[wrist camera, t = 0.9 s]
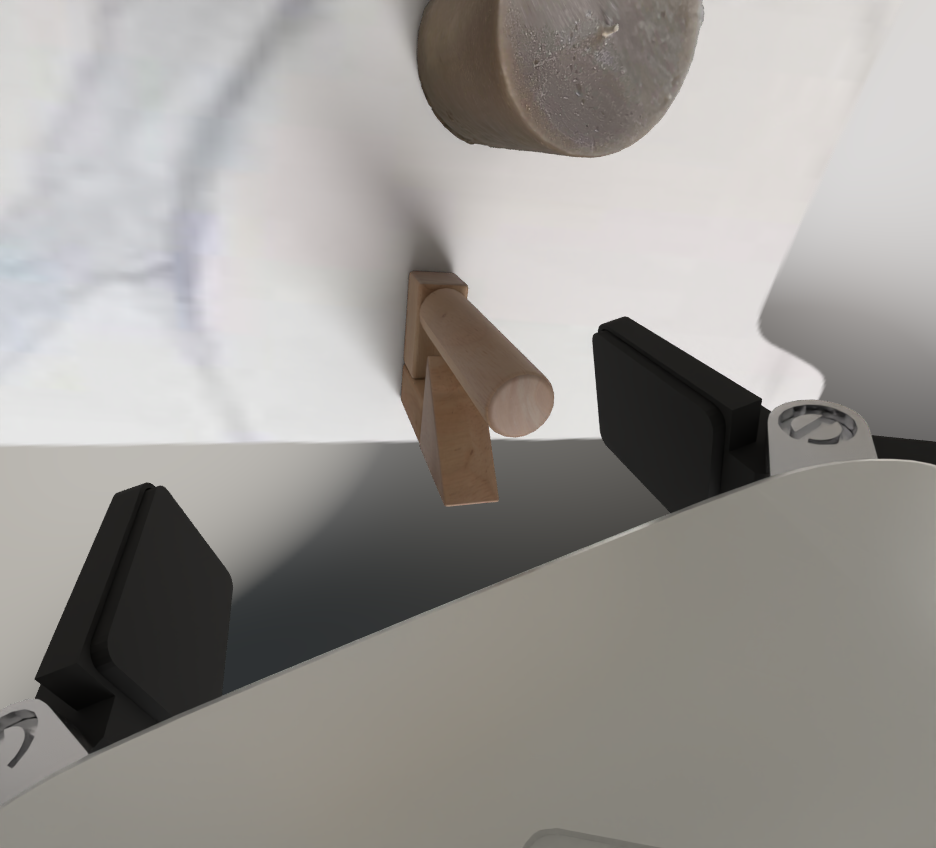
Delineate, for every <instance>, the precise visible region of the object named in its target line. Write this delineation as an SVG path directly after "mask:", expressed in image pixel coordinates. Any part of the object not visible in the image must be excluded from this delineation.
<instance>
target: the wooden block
mask: <svg viewBox="0 0 936 848" xmlns="http://www.w3.org/2000/svg"><path fill="white" fill-rule="evenodd" d="M467 295H468V285H467V284H466V283H465V282H463V281H462V280H461V279H460V278H459V277H458V276H457V275H456V274H454V273H445V272H425V271H412V272H410V274H409V283H408V298H407V314H406V329H405V344H404V362H405V364H404V366H403V374H402V389H401V401H402V403H403V406H404V408H405V411H406V413H407V415H408V418H409V420H410V422H411V425H412V427H413V429H414V432H415V434H416V436H417V439H418V441H419V443H420V445H419V446H420V449H421V451H422V453H423V456H424V458H425V460H426V463H427V465H428V468H429V470H430V472H431V474H432V477H433V479H434V482H435V484H436V486H437V489H438V491H439V494H440V496H441V498H442V500H443V503H444V505H445V506H458V505H467V504H478V503H488V502H497V501H498V500H499V497H498V490H497V483H496V476H495V470H494V462H493V454H492V447H491V440H490V433H489V427H490V428H491V429H492V430H493V431H494V432H496V433H498V434H501V435H503V436H506V437H520V436H525V435H528V434H530V433H532V432H534V431H535V430H537V429H538V428H539V427H540V426H541V425H543V424H544V422H545V421H546V420H547V418H548V417H549V416H550V413H551V411H552V408H553V404H554V392H553V389H552V385H551V383H550V382H549V380H548V379H547V378H546V377H545V376H544V375H543V374H542V373H541V372H540V371H539V370H538V369H537V368H536V367H535V366H534V365H533V364H532V363H531V362H530V361H529V360H528V359H527V358H526V357H525V356H524V355H523V354H522V353H521V352H520V351H519V350H518V349H517V348H516V347H515V346H514V345H513V344H512V343H511V342H510V341H509V340H508V339H507V338H506V337H505V336H504V335H503V334H502V333H501V332H500V331H499V330H498V329H497V328H496V327H495V326H494V325H493V324H492V323H491V322H490V321H489V320H488V319H487V318H486V317H485V316H484V315H483V314H482V313H481V312H480V311H479V310H478V309H477V308H476V307H475V306H474V305H472V304H471V303H470V302H469V301H468V300H467ZM488 425H489V426H488Z"/></svg>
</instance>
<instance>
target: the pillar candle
mask: <svg viewBox="0 0 936 848" xmlns="http://www.w3.org/2000/svg"><path fill="white" fill-rule="evenodd" d="M702 1H703V0H430V1H429V3H428V5H427V6H426V7H425V9H424V12H423V17H422V20H421V24H420V28H419V34H418V48H417V62H418V72H419V78H420V81H421V84H422V89H423V91H424V94H425V97H426V99H427V101H428V103H429V105H430V106H431V107H432V110H433V113H434V114H435V116H436V117H437V118H438V120H439V121H440V122H441V123H442V124H443V126H444V127H445V128H447V129H448V130H449V131H450V132H451V133H452V134H454V135H455V136H456V137H458V138H459V139H461V140H463V141H465V142H467V143H469V144H481V145H488V146H489V147H493V148H494V147H495V148H505V149H510V150H511V149H513V150H514V149H515V150H519V151H520V150H521V151H522V150H524V151H533V152H542V153H549V154H556V155H564V156H571V157H587V158H593V157H601V156H606V155H609V154H613V153H616V152H619V151H621V150H623V149H625V148H627V147H629V146H631V145H632V144H634V143H635V142H637V141H638V140H639V139H641V138H642V137H643V136H645V135H646V134H647V133H648V132H649V131H650V130H651V129H652V128H653V127H654V126H655V125H656V124H657V123H658V122H659V121H660V120H661V118H662V117H663V116H664V115H665V113H666V112H667V110H668V109H669V107H670V105H671V104H672V102H673V101H674V99H675V97H676V96H677V94H678V93H679V91H680V88H681V86H682V84H683V81H684V80H685V78H686V75H687V73H688V71H689V68H690V65H691V62H692V60H693V56H694V52H695V47H696V44H697V38H698V35H699V30H700V27H701V26H702V22H703V20H704V7H703V5H702Z"/></svg>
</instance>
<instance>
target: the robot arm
mask: <svg viewBox="0 0 936 848" xmlns="http://www.w3.org/2000/svg"><path fill="white" fill-rule="evenodd" d="M592 342H593V354H594V366H595V378H596V390H597V402H598V413H599V425H600V433H601V437H602V439H603V441H604V443H605V444H606V446H607V447H608V448H609V449H610V450H611V451H612V452H613V453H614V454H615V455H616V456H617V457H618V458H619V459H620V461H621V462H622V463H623V464H624V465H625V466H626V467H627V468H628V469H629V470H630V471H631V472H632V473H633V474H634V475H635V476H636V477H637V478H638V479H639V480H640V481H641V483H643V485H644V486H645V487H646V488H647V489H648V490H649V491H650V492H651V493H652V494H653V495H654V496H655V497H656V498H657V499H658V500H659V501H660V502H661V503H662V505H664V506H665V507H666V509H667V510H668V511H669V512H670V513H671V514H668V515H665V516H663V517H660V518H658V519H655V520H653V521H650V522H647V523H645V524H643V525H640V526H638V527H635V528H633V529H630V530H628V531H625V532H623V533H620V534H618V535H615V536H613V537H610V538H608V539H605V540H603V541H600V542H598V543H595V544H593V545H590V546H588V547H585V548H583V549H580V550H578V551H575V552H573V553H570V554H568V555H565V556H563V557H560V558H558V559H555V560H553V561H550V562H548V563H545V564H543V565H540V566H538V567H535V568H533V569H530V570H528V571H526V572H523V573H521V574H518V575H516V576H513V577H511V578H508V579H506V580H503V581H501V582H498V583H496V584H493V585H491V586H489V587H486V588H484V589H481V590H478V591H476V592H474V593H471V594H469V595H466V596H464V597H461V598H459V599H456V600H454V601H452V602H449V603H447V604H445V605H442V606H439V607H437V608H435V609H432V610H430V611H427V612H424V613H422V614H420V615H417V616H415V617H412V618H410V619H407V620H405V621H402V622H400V623H398V624H395V625H393V626H390V627H388V628H385V629H383V630H381V631H378V632H376V633H373V634H371V635H368V636H366V637H363V638H361V639H359V640H356V641H354V642H351V643H349V644H347V645H344V646H342V647H339V648H337V649H334V650H332V651H330V652H327V653H325V654H322V655H320V656H317V657H315V658H313V659H310V660H308V661H305V662H303V663H300V664H298V665H296V666H293V667H291V668H288V669H286V670H284V671H282V672H279V673H277V674H274V675H271V676H269V677H267V678H264V679H262V680H259V681H257V682H255V683H252V684H250V685H247V686H245V687H242V688H240V689H238V690H235V691H233V692H231V693H228V694H226V695H223V696H222V689H223V679H224V669H225V660H226V650H227V640H228V630H229V621H230V611H231V600H232V591H233V585H232V579H231V576H230V574H229V572H228V571H227V570H226V568H225V566H224V565H223V564H222V562H221V561H220V560H219V558H218V557H217V556H216V554H215V553H214V552H213V550H212V549H211V548H210V546H209V545H208V544H207V542H206V541H205V540H204V538H203V537H202V536H201V534H200V533H199V532H198V530H197V529H196V528H195V526H194V525H193V524H192V522H191V521H190V519H189V518H188V517H187V515H186V514H185V513H184V511H183V510H182V509H181V507H180V506H179V505H178V503H177V502H176V501H175V499H174V498H173V497H172V495H171V494H170V493H169V491H168V490H167V489H166V488H165V487H163V486H157V487H155V486H154V485H153V484H151V483H144V484H141V485H138V486H135V487H132V488H130V489H127V490H124V491H121V492H118V493H116V494H115V495H114V497H113V499H112V501H111V504H110V506H109V508H108V510H107V513H106V515H105V517H104V520H103V522H102V524H101V527H100V529H99V531H98V533H97V536H96V538H95V540H94V543H93V545H92V547H91V550H90V552H89V554H88V557H87V559H86V561H85V563H84V566H83V568H82V570H81V573H80V575H79V577H78V580H77V582H76V584H75V587H74V589H73V591H72V593H71V596H70V598H69V600H68V603H67V605H66V607H65V610H64V612H63V614H62V617H61V619H60V621H59V623H58V626H57V628H56V630H55V633H54V635H53V637H52V640H51V642H50V645H49V647H48V649H47V651H46V654H45V656H44V658H43V661H42V663H41V665H40V667H39V670H38V672H37V674H36V677H35V680H36V681H37V682H39V683H40V684H41V685H40V687H39V690H38V692H37V695H36V697H35V699H26V700H23V701H19V702H16V703H13V704H10V705H8V706H7V707H5V708H3V709H1V710H0V848H936V442H933V441H923V440H913V439H903V438H893V437H884V436H874V435H871V433H870V429H869V426H868V424H867V423H866V421H865V419H864V418H863V417H862V416H860V415H859V414H858V413H857V412H855V411H853V410H851V409H849V408H847V407H845V406H843V405H839V404H836V403H832V402H828V401H820V400H797V401H792V402H788V403H784V404H782V405H780V406H778V407H776V408H775V409H774V410H773V411H772V412H771V411H770V410H768V409H766V408H765V407H763V406H762V405H761V403H762V399H761V398H760V397H758V396H756V395H755V394H753V393H751V392H750V391H748V390H746V389H745V388H743V387H742V386H740V385H738V384H737V383H735V382H733V381H732V380H730V379H728V378H727V377H725V376H724V375H722V374H720V373H719V372H717V371H715V370H714V369H712V368H710V367H709V366H707V365H706V364H704V363H702V362H701V361H699V360H697V359H696V358H694V357H692V356H691V355H689V354H688V353H686V352H684V351H683V350H681V349H679V348H678V347H676V346H674V345H673V344H671V343H669V342H668V341H666V340H665V339H663V338H661V337H660V336H658V335H656V334H655V333H653V332H651V331H650V330H648V329H647V328H645V327H643V326H642V325H640V324H638V323H637V322H635V321H633V320H632V319H630V318H629V317H626V316H625V317H621V318H618V319H615V320H613V321H610V322H607V323H604V324H601V325H600V326H599V329H598V333H595V334H594V335H593V338H592Z"/></svg>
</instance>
